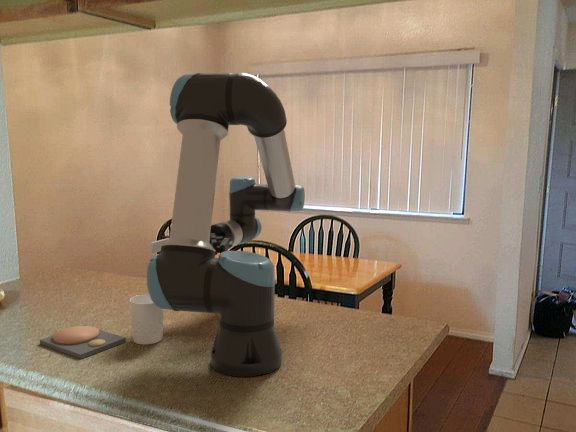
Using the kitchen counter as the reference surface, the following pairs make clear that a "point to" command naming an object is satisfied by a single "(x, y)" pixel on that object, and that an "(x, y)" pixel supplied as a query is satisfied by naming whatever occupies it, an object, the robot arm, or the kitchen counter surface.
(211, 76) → the robot arm
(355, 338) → the kitchen counter surface
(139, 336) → the white cup
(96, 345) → the board
